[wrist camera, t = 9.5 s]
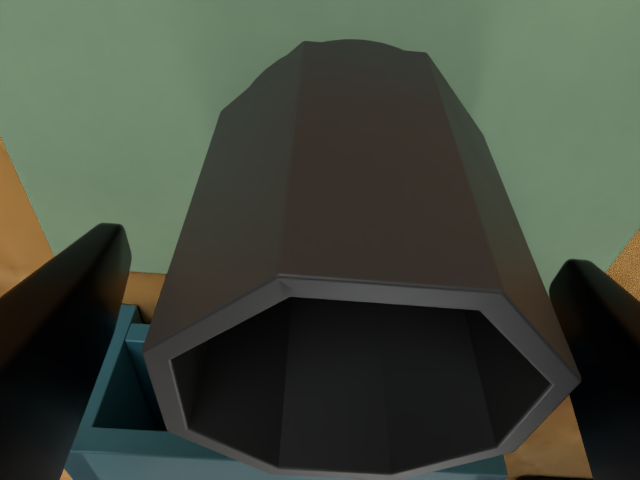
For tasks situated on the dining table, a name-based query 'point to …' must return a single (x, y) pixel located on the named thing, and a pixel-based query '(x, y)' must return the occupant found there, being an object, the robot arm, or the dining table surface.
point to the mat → (276, 42)
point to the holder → (353, 280)
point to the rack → (162, 446)
